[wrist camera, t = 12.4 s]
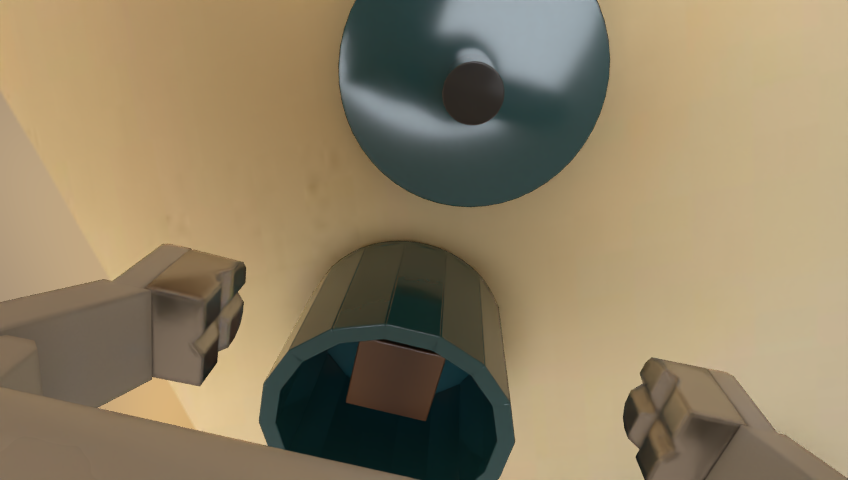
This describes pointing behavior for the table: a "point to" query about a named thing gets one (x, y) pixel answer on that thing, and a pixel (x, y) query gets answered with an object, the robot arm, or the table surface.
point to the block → (395, 378)
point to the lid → (473, 92)
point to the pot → (408, 324)
